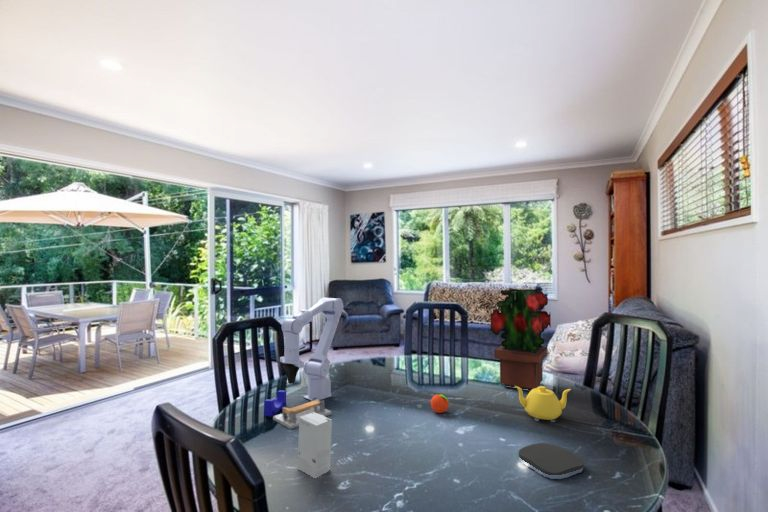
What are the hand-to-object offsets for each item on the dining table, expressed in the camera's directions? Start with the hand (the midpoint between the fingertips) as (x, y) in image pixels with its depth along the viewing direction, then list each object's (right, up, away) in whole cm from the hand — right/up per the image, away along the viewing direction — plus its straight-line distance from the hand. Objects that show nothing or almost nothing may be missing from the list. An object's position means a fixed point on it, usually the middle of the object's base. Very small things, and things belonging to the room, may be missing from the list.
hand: (291, 382), depth 154 cm
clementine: (+59, -10, -5) cm, 60 cm away
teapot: (+97, -10, -9) cm, 98 cm away
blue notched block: (-7, -11, -1) cm, 13 cm away
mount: (+6, -10, -8) cm, 14 cm away
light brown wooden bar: (+7, -7, -8) cm, 12 cm away
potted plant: (+102, -10, +26) cm, 106 cm away
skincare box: (+18, -10, -45) cm, 50 cm away
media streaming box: (+85, -10, -43) cm, 96 cm away
